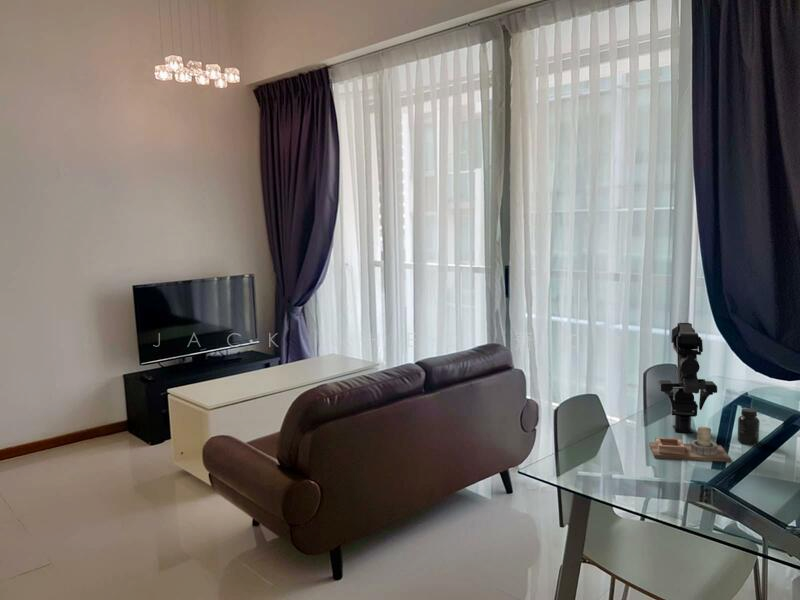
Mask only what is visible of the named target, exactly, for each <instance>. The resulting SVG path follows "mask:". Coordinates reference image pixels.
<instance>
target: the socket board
mask: <svg viewBox="0 0 800 600" xmlns="http://www.w3.org/2000/svg"><path fill="white" fill-rule="evenodd" d="M697 444H698V439H692V440H691V441H690V442H689V443H683V441H682V439H681V438H675V437H674V438H673V437H672V438H671V437H654V441H653V442H651V441H649V442H648V446H649V449H650V451H651V453H652V456H653V458H654V459H662V460H663V459H665V460H666V459H667V460H684V461H685V460H686V461H687V460H688V461H704V462H706V461H707V462H724V463H726V462H727V463H731V457H730V456H729V454H728V453H727V451H726V450H725V449H724V447H723V446H722V445H721V444H719V445H718V444H717V443H716V442H714V441H711V440H710V447H701V446H698V445H697Z"/></svg>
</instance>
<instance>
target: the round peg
mask: <svg viewBox="0 0 800 600" xmlns="http://www.w3.org/2000/svg"><path fill="white" fill-rule="evenodd" d="M711 431H712V429H711V428H710V427H707V426H698V427H697V440H698V444H697V445H698V446H701V447H710V441H711V439H712V438H711V437H712V432H711Z"/></svg>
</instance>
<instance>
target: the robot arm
mask: <svg viewBox="0 0 800 600" xmlns="http://www.w3.org/2000/svg"><path fill="white" fill-rule="evenodd" d="M670 335H671V336H670V342H671V344H672V348H673V350H674V351H675V353H676V355H677V383H673V382H672V381H671V380H663V379H660V380H659V381H658V385H657V387H658V389H659V390H660V392H662V393H663V394H666V395H667V397H668V401H669V403H670V412H671V416H674V424H673V425H672V426H673V427H672V429H673V428H674V429H673V430H674V432H675V433H687V434H688V433H692V434H693V433H694V429H693V428H692V418H693V417H694V418H696V416H698V409H699V410H700V411H702V409H703V407H704V405H705V402H706V401H707V399H708V398H709V397H710V396H712V395H714V394H717V393H718V386H717V384H716V383H715V382H714V381H712V380H706V379H705V378H699V377H698V372H699V371H700V363H699V361H698V356H702V352H703V351H704V348H703V347H704V346H703V340H702V337H701V336H699V334H698V333H697V332H696V329H695V328H694V327H693V324H692V323H690V322H677V324H676V326H675V327H674V328H672V329H671V334H670ZM674 389H675V390H676V389H677V390H676V391H675V393H674V391H673V390H674ZM694 394H695V395H696V394H697V395H698V394H699V403H698V404H699V405H698V404H697V401H696V400H695V395H694Z"/></svg>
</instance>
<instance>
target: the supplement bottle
mask: <svg viewBox="0 0 800 600" xmlns="http://www.w3.org/2000/svg"><path fill="white" fill-rule="evenodd" d="M740 414H741V415H739V417H737V434H736V435H737V436H736V437H737V438H736V439H737V441H738V443H740V444H745V445H748V444H749V445H750V446H755V445H757V444H759V442H760V441H759V440H760V422H761V421H760V419H759V418H758V417H757V416H758V410H756V409H754V408H749V407H748V408H746V407H744V408H741V412H740ZM754 444H755V445H754ZM749 445H748V446H749Z"/></svg>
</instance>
